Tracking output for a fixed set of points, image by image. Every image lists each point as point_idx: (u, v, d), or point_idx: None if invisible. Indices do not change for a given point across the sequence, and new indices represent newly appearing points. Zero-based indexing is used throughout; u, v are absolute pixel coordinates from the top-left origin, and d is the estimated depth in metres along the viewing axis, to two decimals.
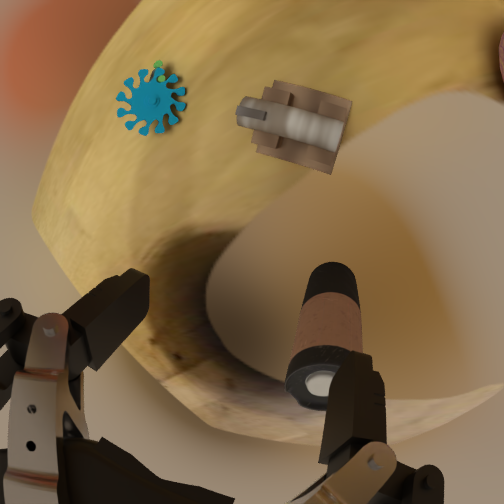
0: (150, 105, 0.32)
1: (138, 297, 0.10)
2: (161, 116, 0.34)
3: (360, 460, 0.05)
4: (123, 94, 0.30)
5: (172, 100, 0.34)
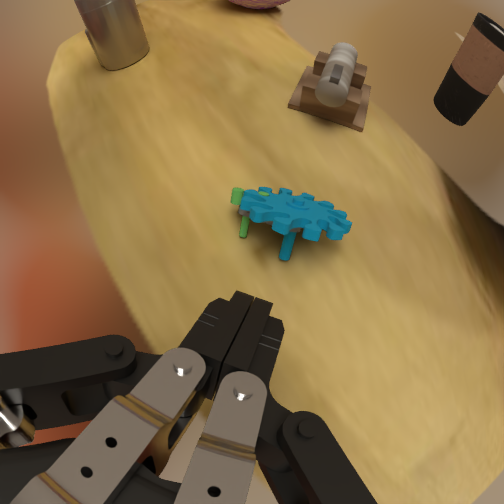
0: (305, 206, 0.24)
1: None
2: (322, 207, 0.25)
3: (225, 396, 0.06)
4: (280, 217, 0.21)
5: (298, 196, 0.27)
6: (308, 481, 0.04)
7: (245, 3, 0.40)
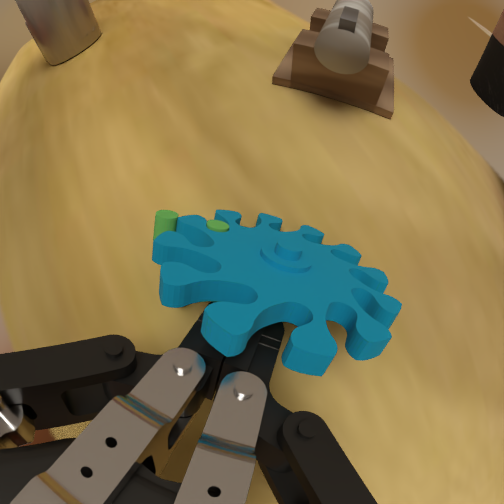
0: (303, 261, 0.11)
1: None
2: (339, 260, 0.12)
3: (225, 396, 0.06)
4: (225, 305, 0.07)
5: (293, 233, 0.14)
6: (308, 481, 0.04)
7: None
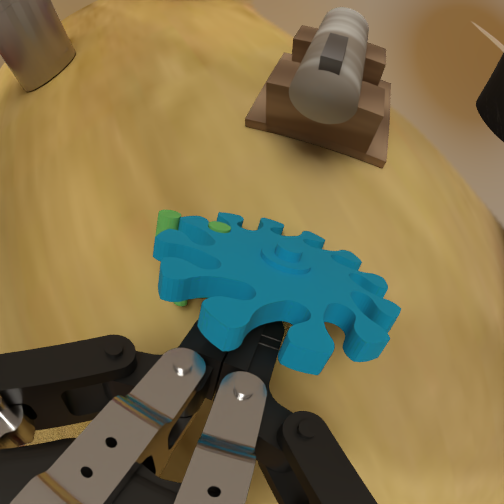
0: (303, 263, 0.11)
1: None
2: (339, 265, 0.12)
3: (225, 396, 0.06)
4: (223, 300, 0.07)
5: (294, 238, 0.14)
6: (308, 481, 0.04)
7: None
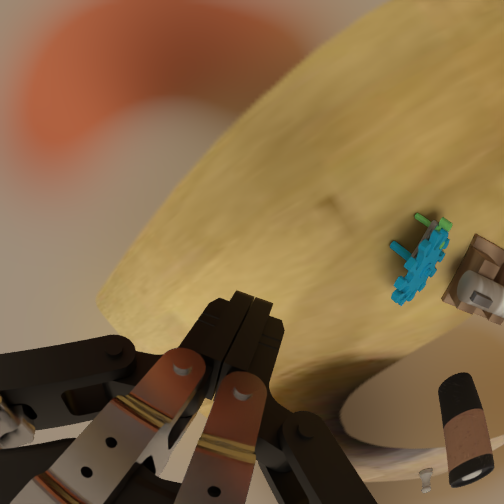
0: (423, 276, 0.27)
1: None
2: (420, 285, 0.29)
3: (225, 396, 0.06)
4: (416, 264, 0.24)
5: (433, 268, 0.28)
6: (308, 481, 0.04)
7: None
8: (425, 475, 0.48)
